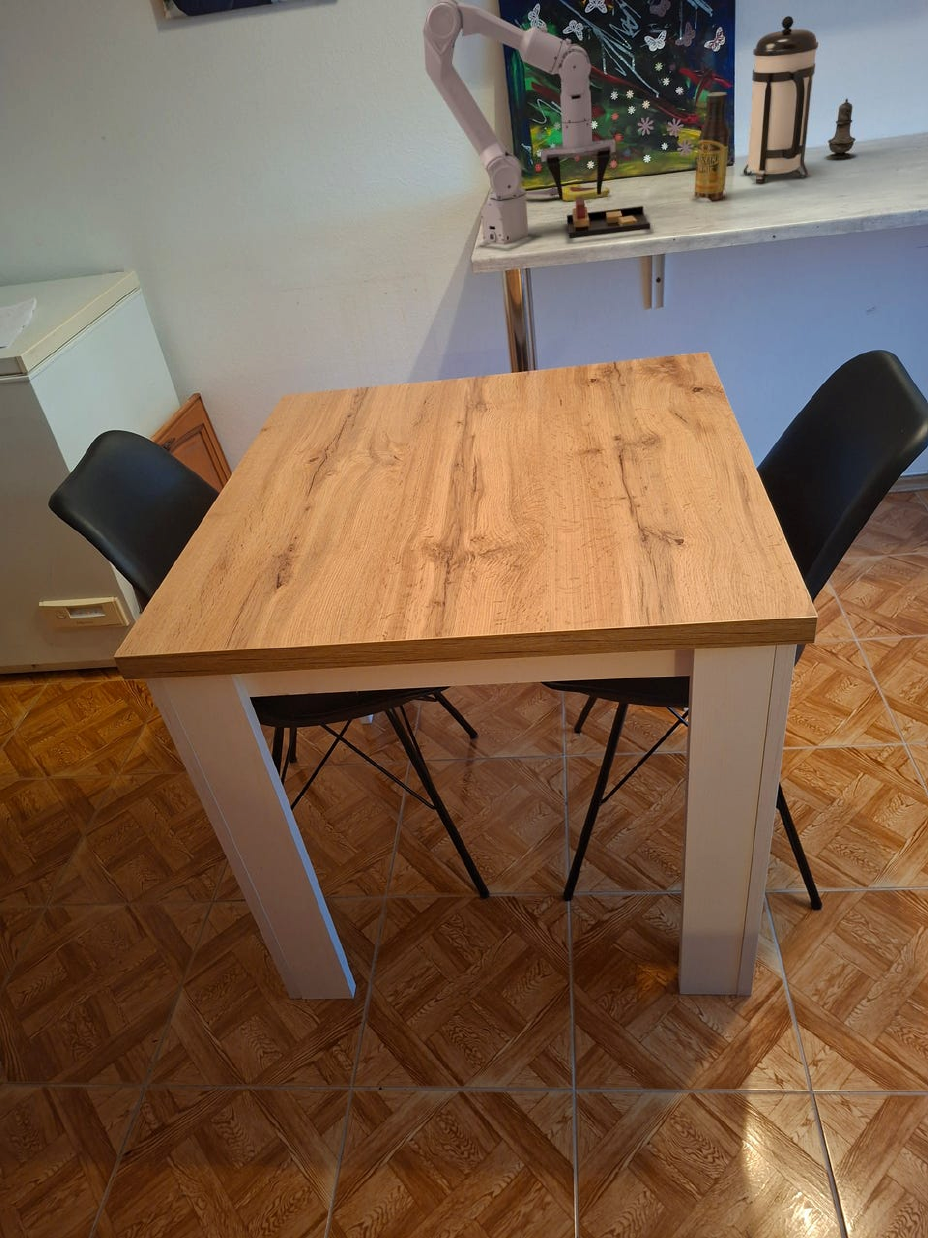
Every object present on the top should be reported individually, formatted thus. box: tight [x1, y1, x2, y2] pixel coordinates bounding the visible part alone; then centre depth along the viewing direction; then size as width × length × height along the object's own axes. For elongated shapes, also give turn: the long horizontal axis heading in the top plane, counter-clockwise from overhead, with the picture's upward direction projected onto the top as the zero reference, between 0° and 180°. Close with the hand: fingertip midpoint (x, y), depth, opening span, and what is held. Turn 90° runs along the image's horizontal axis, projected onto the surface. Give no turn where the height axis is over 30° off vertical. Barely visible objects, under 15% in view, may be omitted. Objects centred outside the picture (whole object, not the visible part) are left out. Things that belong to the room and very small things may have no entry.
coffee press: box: [742, 15, 819, 185], centre depth 187 cm, size 17×16×30 cm
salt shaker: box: [827, 97, 856, 161], centre depth 199 cm, size 6×6×12 cm
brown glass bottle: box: [694, 91, 730, 202], centre depth 183 cm, size 6×6×20 cm
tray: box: [566, 205, 651, 239], centre depth 180 cm, size 16×14×2 cm
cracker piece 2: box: [618, 216, 637, 226], centre depth 177 cm, size 3×4×1 cm
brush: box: [571, 196, 589, 231], centre depth 179 cm, size 3×10×5 cm, turn 177°
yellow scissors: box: [525, 184, 611, 202], centre depth 205 cm, size 8×3×25 cm
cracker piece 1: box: [606, 211, 622, 223], centre depth 181 cm, size 3×4×1 cm
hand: (579, 195), depth 177 cm, fingers open, 7 cm apart
